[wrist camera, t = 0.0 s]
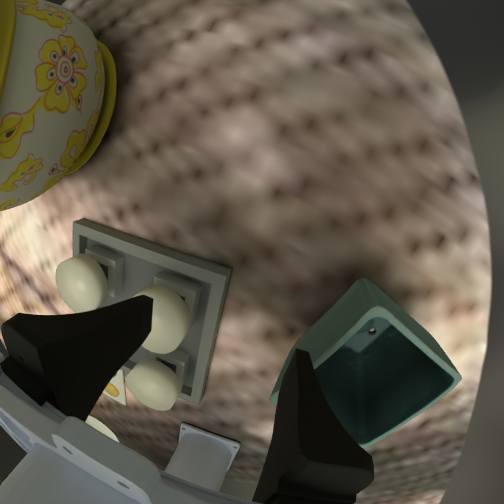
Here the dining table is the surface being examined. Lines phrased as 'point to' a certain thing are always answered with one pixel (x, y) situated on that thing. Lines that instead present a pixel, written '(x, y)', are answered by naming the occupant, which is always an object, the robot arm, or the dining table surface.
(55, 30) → the flowerpot
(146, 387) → the button
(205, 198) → the dining table surface
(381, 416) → the flower pot
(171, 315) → the button
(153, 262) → the button board
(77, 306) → the button
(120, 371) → the card
